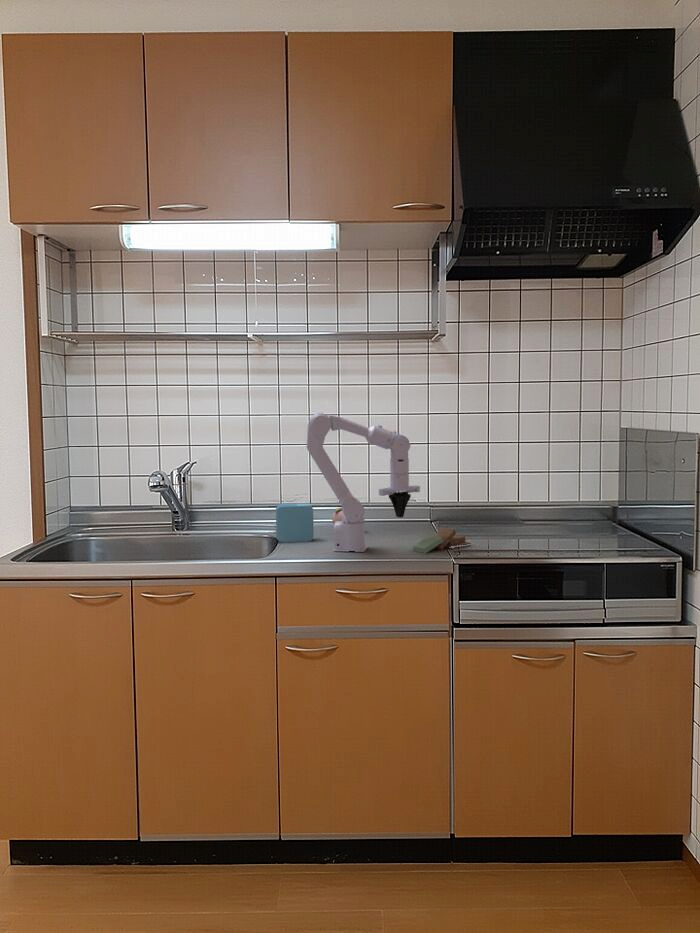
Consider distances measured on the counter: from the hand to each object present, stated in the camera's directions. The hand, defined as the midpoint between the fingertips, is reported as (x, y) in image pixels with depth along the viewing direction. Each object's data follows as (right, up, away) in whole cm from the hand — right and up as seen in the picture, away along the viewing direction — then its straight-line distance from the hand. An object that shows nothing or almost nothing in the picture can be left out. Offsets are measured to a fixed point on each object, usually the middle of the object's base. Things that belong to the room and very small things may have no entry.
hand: (399, 516), depth 247 cm
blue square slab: (-34, -9, +16) cm, 38 cm away
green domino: (+6, -10, -5) cm, 12 cm away
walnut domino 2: (+14, -8, +2) cm, 16 cm away
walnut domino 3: (+14, -10, +1) cm, 17 cm away
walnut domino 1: (+11, -9, -1) cm, 14 cm away
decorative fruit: (-17, -8, +29) cm, 34 cm away
